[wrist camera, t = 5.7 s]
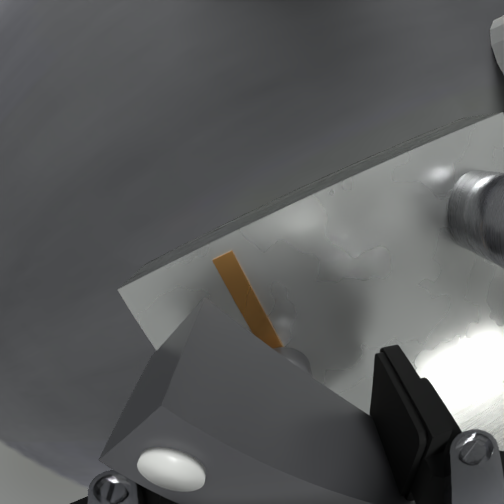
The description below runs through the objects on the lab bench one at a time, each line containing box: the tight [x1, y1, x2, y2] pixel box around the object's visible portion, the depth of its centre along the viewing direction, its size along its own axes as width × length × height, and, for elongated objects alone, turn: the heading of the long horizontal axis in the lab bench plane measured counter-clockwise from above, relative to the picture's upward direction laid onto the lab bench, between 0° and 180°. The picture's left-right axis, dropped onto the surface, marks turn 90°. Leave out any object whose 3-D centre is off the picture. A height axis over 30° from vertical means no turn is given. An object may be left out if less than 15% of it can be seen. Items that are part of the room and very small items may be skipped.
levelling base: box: [118, 112, 504, 451], centre depth 10 cm, size 16×22×10 cm
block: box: [99, 297, 415, 504], centre depth 8 cm, size 8×3×6 cm, turn 49°
